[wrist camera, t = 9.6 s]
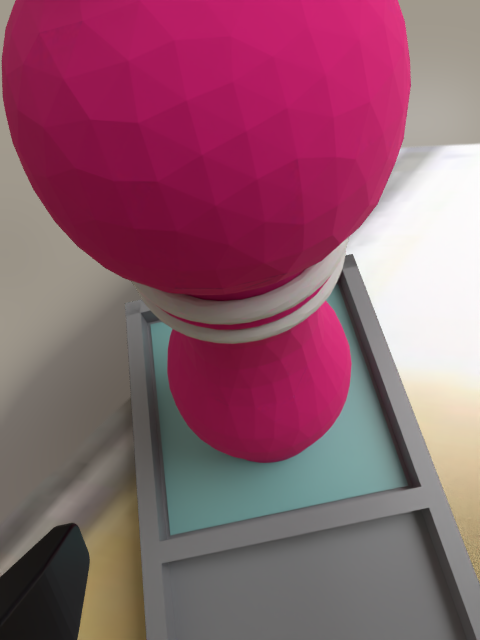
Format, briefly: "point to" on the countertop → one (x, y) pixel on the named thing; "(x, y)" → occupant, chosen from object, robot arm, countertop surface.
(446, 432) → the countertop surface
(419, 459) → the sorting tray
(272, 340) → the pepper mill
